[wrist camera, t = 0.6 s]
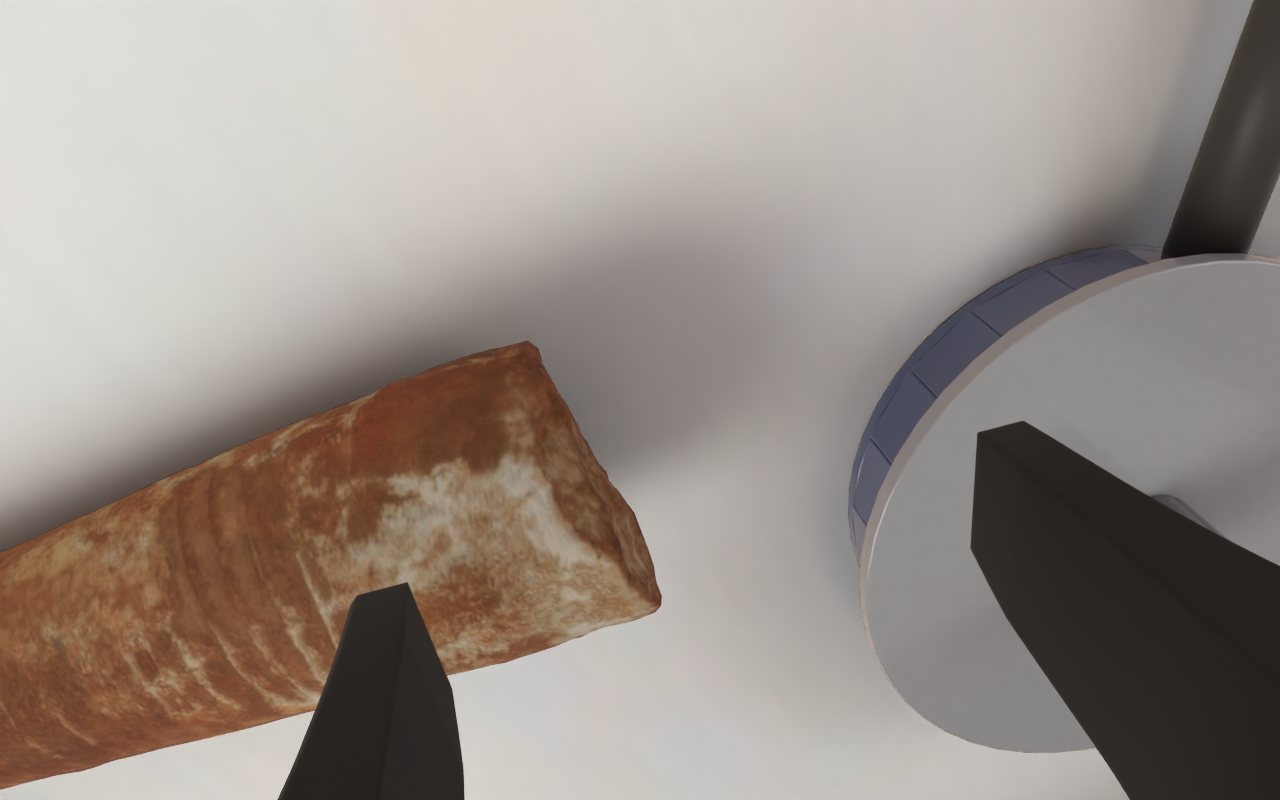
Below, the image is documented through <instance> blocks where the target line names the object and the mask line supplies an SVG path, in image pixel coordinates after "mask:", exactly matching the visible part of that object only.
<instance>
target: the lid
mask: <svg viewBox="0 0 1280 800" xmlns="http://www.w3.org/2000/svg"><path fill="white" fill-rule="evenodd" d="M1019 421H1025V422H1027V423H1029V424H1030V425H1032V426H1034V427H1035V428H1037V429H1039V430H1040V431H1042V432H1044V433H1045V434H1047V435H1049V436H1050V437H1052V438H1054V439H1055V440H1057V441H1059V442H1060V443H1062V444H1064V445H1065V446H1067V447H1068V448H1070V449H1072V450H1073V451H1075V452H1077V453H1078V454H1080V455H1081V456H1083V457H1085V458H1086V459H1088V460H1090V461H1091V462H1093V463H1094V464H1096V465H1098V466H1099V467H1101V468H1103V469H1104V470H1106V471H1108V472H1109V473H1111V474H1113V475H1114V476H1116V477H1118V478H1119V479H1121V480H1123V481H1124V482H1126V483H1128V484H1129V485H1131V486H1133V487H1134V488H1136V489H1138V490H1139V491H1141V492H1143V493H1145V494H1146V495H1148V496H1150V497H1151V498H1153V499H1155V500H1157V501H1158V502H1160V503H1162V504H1164V505H1165V506H1167V507H1169V508H1171V509H1172V510H1174V511H1176V512H1178V513H1179V514H1181V515H1183V516H1185V517H1187V518H1188V519H1190V520H1192V521H1194V522H1196V523H1197V524H1199V525H1201V526H1203V527H1205V528H1207V529H1209V530H1210V531H1212V532H1214V533H1216V534H1218V535H1220V536H1222V537H1224V538H1226V539H1228V540H1229V541H1231V542H1233V543H1235V544H1237V545H1239V546H1241V547H1243V548H1245V549H1247V550H1249V551H1251V552H1253V553H1255V554H1257V555H1259V556H1261V557H1263V558H1265V559H1267V560H1269V561H1271V562H1273V563H1275V564H1277V565H1279V566H1280V259H1277V258H1270V257H1264V256H1257V255H1250V254H1199V255H1192V256H1184V257H1177V258H1170V259H1164V260H1160V261H1157V262H1153V263H1149V264H1145V265H1142V266H1138V267H1134V268H1130V269H1127V270H1124V271H1121V272H1119V273H1116V274H1114V275H1111V276H1108V277H1106V278H1103V279H1101V280H1098V281H1096V282H1093V283H1091V284H1088V285H1086V286H1084V287H1082V288H1080V289H1078V290H1076V291H1074V292H1072V293H1070V294H1068V295H1066V296H1065V297H1063V298H1061V299H1059V300H1057V301H1055V302H1053V303H1051V304H1049V305H1047V306H1045V307H1044V308H1042V309H1041V310H1039V311H1038V312H1036V313H1035V314H1033V315H1032V316H1030V317H1029V318H1027V319H1026V320H1024V321H1023V322H1021V323H1020V324H1018V325H1017V326H1015V327H1014V328H1012V329H1011V330H1009V331H1008V332H1007V333H1006V334H1004V335H1003V336H1002V337H1001V338H999V339H998V340H997V341H996V342H995V343H993V344H992V345H991V346H990V347H989V348H987V349H986V350H985V351H984V352H982V353H981V354H980V355H979V356H978V357H976V358H975V359H974V360H973V361H972V362H971V363H970V364H969V365H968V366H967V367H966V368H965V369H964V370H963V371H962V372H961V373H960V374H959V375H958V376H957V377H956V378H955V379H954V380H953V381H952V382H951V383H950V384H949V385H948V386H947V387H946V388H945V389H944V390H943V391H942V393H941V394H940V395H939V396H938V398H937V399H936V400H935V401H934V403H933V404H932V405H931V406H930V408H929V409H928V410H927V411H926V413H925V414H924V415H923V416H922V418H921V419H920V420H919V421H918V423H917V424H916V426H915V427H914V429H913V430H912V432H911V433H910V435H909V437H908V438H907V440H906V441H905V443H904V444H903V446H902V447H901V449H900V451H899V452H898V454H897V455H896V457H895V459H894V461H893V463H892V465H891V467H890V469H889V471H888V473H887V475H886V477H885V479H884V481H883V483H882V486H881V488H880V490H879V492H878V495H877V498H876V500H875V503H874V506H873V509H872V512H871V515H870V518H869V521H868V524H867V528H866V533H865V538H864V543H863V548H862V554H861V560H860V582H859V594H860V602H861V611H862V620H863V623H864V626H865V630H866V633H867V636H868V640H869V643H870V646H871V648H872V650H873V652H874V654H875V656H876V658H877V660H878V662H879V664H880V666H881V668H882V670H883V672H884V673H885V675H886V677H887V679H888V680H889V682H890V683H891V684H892V685H893V687H894V688H895V689H896V691H897V692H898V693H899V694H900V696H901V697H902V698H903V700H904V701H905V702H906V703H907V704H909V705H910V706H911V707H912V708H913V709H914V710H915V711H916V712H918V713H919V714H920V715H921V716H922V717H923V718H925V719H926V720H928V721H929V722H931V723H933V724H934V725H936V726H937V727H939V728H941V729H942V730H944V731H945V732H947V733H950V734H952V735H954V736H957V737H959V738H962V739H964V740H966V741H969V742H971V743H975V744H979V745H983V746H987V747H991V748H995V749H999V750H1008V751H1016V752H1024V753H1058V752H1068V751H1077V750H1086V749H1091V748H1096V747H1095V745H1094V744H1093V742H1092V741H1091V740H1090V738H1089V737H1088V735H1087V734H1086V732H1085V731H1084V730H1083V728H1082V727H1081V725H1080V724H1079V722H1078V721H1077V720H1076V718H1075V717H1074V715H1073V714H1072V712H1071V711H1070V710H1069V708H1068V707H1067V705H1066V704H1065V702H1064V701H1063V700H1062V698H1061V697H1060V695H1059V694H1058V692H1057V691H1056V690H1055V688H1054V687H1053V685H1052V684H1051V682H1050V681H1049V679H1048V678H1047V677H1046V675H1045V674H1044V672H1043V671H1042V669H1041V668H1040V667H1039V665H1038V664H1037V662H1036V661H1035V659H1034V658H1033V656H1032V655H1031V653H1030V652H1029V651H1028V649H1027V648H1026V646H1025V645H1024V643H1023V642H1022V640H1021V639H1020V637H1019V636H1018V635H1017V633H1016V632H1015V630H1014V629H1013V627H1012V626H1011V624H1010V623H1009V621H1008V620H1007V618H1006V616H1005V615H1004V613H1003V611H1002V609H1001V607H1000V605H999V603H998V602H997V600H996V598H995V596H994V594H993V592H992V590H991V588H990V587H989V585H988V583H987V581H986V579H985V577H984V575H983V573H982V571H981V569H980V567H979V565H978V563H977V561H976V559H975V557H974V555H973V553H972V551H971V549H970V545H971V528H972V512H973V495H974V479H975V462H976V446H977V432H981V431H985V430H989V429H993V428H997V427H1000V426H1004V425H1008V424H1012V423H1016V422H1019Z"/></svg>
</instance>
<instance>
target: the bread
mask: <svg viewBox="0 0 1280 800" xmlns="http://www.w3.org/2000/svg"><path fill="white" fill-rule="evenodd" d="M406 582H408V584H409V587H410V589H411V592H412V594H413V596H414V599H415V601H416V604H417V606H418V608H419V611H420V613H421V616H422V618H423V620H424V623H425V625H426V628H427V630H428V632H429V635H430V637H431V640H432V642H433V644H434V647H435V649H436V652H437V654H438V656H439V659H440V661H441V664H442V666H443V668H444V671H445V673H446V676H448V675H452V674H457V673H461V672H465V671H470V670H474V669H478V668H482V667H486V666H490V665H495V664H500V663H506V662H509V661H511V660H514V659H517V658H520V657H523V656H526V655H530V654H533V653H536V652H539V651H542V650H545V649H548V648H551V647H555V646H557V645H559V644H562V643H564V642H567V641H569V640H571V639H574V638H578V637H582V636H584V635H586V634H588V633H590V632H592V631H595V630H598V629H600V628H603V627H607V626H612V625H617V624H622V623H626V622H631V621H634V620H637V619H639V618H641V617H644V616H646V615H649V614H651V613H654V612H656V611H657V609H658V608H659V607H660V606H661V598H662V596H661V593H660V591H659V588H658V585H657V582H656V578H655V571H654V565H653V562H652V559H651V556H650V553H649V550H648V548H647V545H646V543H645V540H644V537H643V535H642V532H641V529H640V527H639V524H638V522H637V519H636V516H635V514H634V512H633V511H632V509H631V508H630V507H629V505H628V504H627V503H626V501H625V500H624V498H623V497H622V496H621V494H620V493H619V491H618V490H617V489H616V488H615V487H614V486H613V485H612V484H611V482H610V481H609V480H608V476H607V473H606V471H605V470H604V469H603V468H602V467H601V466H600V465H599V463H598V462H597V460H596V458H595V457H594V455H593V453H592V451H591V449H590V447H589V445H588V443H587V441H586V440H585V439H584V437H583V436H582V435H581V433H580V431H579V428H578V426H577V423H576V421H575V419H574V417H573V415H572V413H571V412H570V410H569V407H568V406H567V404H566V403H565V401H564V400H563V398H562V397H561V395H560V394H559V392H558V391H557V389H556V387H555V385H554V383H553V381H552V380H551V378H550V376H549V375H548V373H547V371H546V370H545V368H544V366H543V365H542V363H541V357H540V353H539V350H538V348H537V347H535V346H534V345H533V344H531V343H530V342H529V341H525V342H521V343H518V344H514V345H509V346H505V347H500V348H496V349H491V350H487V351H483V352H480V353H476V354H473V355H470V356H467V357H464V358H460V359H457V360H454V361H451V362H449V363H446V364H443V365H440V366H437V367H434V368H431V369H429V370H427V371H425V372H423V373H421V374H419V375H416V376H413V377H410V378H407V379H404V380H401V381H397V382H394V383H391V384H388V385H385V386H383V387H380V388H379V389H378V390H377V391H375V392H374V393H373V394H371V395H368V396H365V397H362V398H359V399H357V400H354V401H352V402H349V403H347V404H344V405H342V406H339V407H337V408H334V409H332V410H329V411H326V412H323V413H321V414H318V415H315V416H312V417H310V418H307V419H304V420H301V421H299V422H296V423H293V424H291V425H288V426H286V427H283V428H281V429H279V430H276V431H274V432H272V433H269V434H267V435H265V436H262V437H260V438H257V439H255V440H253V441H250V442H248V443H245V444H243V445H241V446H238V447H236V448H234V449H231V450H229V451H226V452H224V453H222V454H219V455H217V456H215V457H213V458H211V459H209V460H207V461H205V462H203V463H201V464H199V465H196V466H193V467H191V468H188V469H185V470H183V471H180V472H178V473H175V474H173V475H171V476H169V477H166V478H164V479H162V480H160V481H158V482H156V483H153V484H151V485H149V486H147V487H145V488H143V489H141V490H139V491H136V492H134V493H132V494H130V495H128V496H126V497H124V498H121V499H119V500H117V501H114V502H112V503H110V504H108V505H106V506H104V507H102V508H99V509H97V510H95V511H93V512H91V513H89V514H87V515H85V516H82V517H80V518H78V519H75V520H73V521H71V522H68V523H66V524H63V525H61V526H59V527H57V528H55V529H53V530H51V531H48V532H46V533H44V534H42V535H40V536H38V537H36V538H33V539H31V540H29V541H27V542H24V543H22V544H20V545H18V546H15V547H13V548H11V549H8V550H6V551H4V552H1V553H0V789H4V788H9V787H12V786H16V785H19V784H22V783H26V782H30V781H34V780H39V779H43V778H47V777H51V776H56V775H61V774H66V773H72V772H78V771H83V770H87V769H90V768H94V767H97V766H99V765H102V764H105V763H108V762H110V761H114V760H118V759H122V758H127V757H131V756H135V755H139V754H143V753H147V752H150V751H154V750H158V749H162V748H166V747H170V746H175V745H179V744H184V743H188V742H193V741H197V740H202V739H206V738H210V737H214V736H218V735H223V734H227V733H231V732H235V731H239V730H243V729H247V728H251V727H255V726H259V725H262V724H266V723H269V722H273V721H276V720H279V719H283V718H287V717H291V716H295V715H298V714H302V713H306V712H310V711H314V710H316V707H317V704H318V702H319V699H320V697H321V694H322V691H323V688H324V685H325V683H326V680H327V677H328V674H329V671H330V669H331V666H332V663H333V660H334V657H335V654H336V651H337V648H338V645H339V641H340V638H341V635H342V632H343V629H344V625H345V622H346V619H347V615H348V612H349V608H350V605H351V603H352V602H353V600H354V599H355V598H356V596H357V595H360V594H364V593H368V592H371V591H375V590H379V589H383V588H387V587H390V586H394V585H398V584H402V583H406Z"/></svg>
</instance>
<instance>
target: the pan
mask: <svg viewBox="0 0 1280 800" xmlns="http://www.w3.org/2000/svg"><path fill="white" fill-rule="evenodd" d="M1162 249H1163V248H1160V247H1153V246H1112V247H1105V248H1097V249H1090V250H1084V251H1080V252H1077V253H1073V254H1069V255H1065V256H1062V257H1058V258H1054V259H1052V260H1049V261H1047V262H1044V263H1041V264H1039V265H1036V266H1034V267H1031V268H1029V269H1026V270H1024V271H1022V272H1020V273H1018V274H1016V275H1014V276H1012V277H1010V278H1008V279H1006V280H1005V281H1003V282H1001V283H999V284H997V285H995V286H993V287H992V288H990V289H989V290H987V291H986V292H984V293H983V294H981V295H980V296H978V297H977V298H975V299H974V300H972V301H971V302H969V303H968V304H966V305H965V306H963V307H962V308H961V309H960V310H959V311H957V312H956V313H955V314H954V315H953V316H951V317H950V318H949V319H948V320H947V321H945V322H944V323H943V324H942V325H941V326H940V327H938V328H937V329H936V330H935V331H934V332H933V333H932V334H931V335H930V336H929V337H928V338H927V339H926V340H925V342H924V343H923V344H922V345H921V346H920V347H919V348H918V349H917V350H916V351H915V352H914V353H913V354H912V355H911V357H910V358H909V359H908V360H907V362H906V363H905V364H904V366H903V367H902V368H901V369H900V371H899V372H898V373H897V375H896V376H895V377H894V378H893V380H892V381H891V383H890V385H889V386H888V388H887V390H886V391H885V393H884V394H883V396H882V398H881V399H880V401H879V402H878V404H877V406H876V408H875V410H874V412H873V414H872V416H871V418H870V420H869V423H868V425H867V427H866V429H865V431H864V433H863V436H862V439H861V442H860V445H859V448H858V451H857V455H856V458H855V461H854V465H853V471H852V476H851V482H850V487H849V508H848V518H849V526H850V535H851V541H852V544H853V548H854V551H855V555H856V558H857V562H858V564H859V567H860V560H861V554H862V548H863V543H864V538H865V533H866V528H867V524H868V521H869V518H870V515H871V512H872V509H873V506H874V503H875V500H876V498H877V495H878V492H879V490H880V488H881V486H882V483H883V481H884V479H885V477H886V475H887V473H888V471H889V469H890V467H891V465H892V463H893V461H894V459H895V457H896V455H897V454H898V452H899V451H900V449H901V447H902V446H903V444H904V443H905V441H906V440H907V438H908V437H909V435H910V433H911V432H912V430H913V429H914V427H915V426H916V424H917V423H918V421H919V420H920V419H921V418H922V416H923V415H924V414H925V413H926V411H927V410H928V409H929V408H930V406H931V405H932V404H933V403H934V401H935V400H936V399H937V398H938V396H939V395H940V394H941V393H942V391H943V390H944V389H945V388H946V387H947V386H948V385H949V384H950V383H951V382H952V381H953V380H954V379H955V378H956V377H957V376H958V375H959V374H960V373H961V372H962V371H963V370H964V369H965V368H966V367H967V366H968V365H969V364H970V363H971V362H972V361H973V360H974V359H975V358H976V357H978V356H979V355H980V354H981V353H982V352H984V351H985V350H986V349H987V348H989V347H990V346H991V345H992V344H993V343H995V342H996V341H997V340H998V339H999V338H1001V337H1002V336H1003V335H1004V334H1006V333H1007V332H1008V331H1009V330H1011V329H1012V328H1014V327H1015V326H1017V325H1018V324H1020V323H1021V322H1023V321H1024V320H1026V319H1027V318H1029V317H1030V316H1032V315H1033V314H1035V313H1036V312H1038V311H1039V310H1041V309H1042V308H1044V307H1045V306H1047V305H1049V304H1051V303H1053V302H1055V301H1057V300H1059V299H1061V298H1063V297H1065V296H1066V295H1068V294H1070V293H1072V292H1074V291H1076V290H1078V289H1080V288H1082V287H1084V286H1086V285H1088V284H1091V283H1093V282H1096V281H1098V280H1101V279H1103V278H1106V277H1108V276H1111V275H1114V274H1116V273H1119V272H1121V271H1124V270H1127V269H1130V268H1134V267H1138V266H1142V265H1145V264H1149V263H1153V262H1157V261H1160V260H1161V254H1162Z"/></svg>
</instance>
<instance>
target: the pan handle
mask: <svg viewBox="0 0 1280 800" xmlns="http://www.w3.org/2000/svg"><path fill="white" fill-rule="evenodd" d="M1279 174H1280V0H1254V1H1253V4H1252V7H1251V9H1250V12H1249V15H1248V18H1247V20H1246V23H1245V26H1244V28H1243V31H1242V34H1241V37H1240V39H1239V42H1238V45H1237V48H1236V50H1235V53H1234V56H1233V58H1232V61H1231V64H1230V67H1229V69H1228V72H1227V75H1226V78H1225V80H1224V83H1223V86H1222V88H1221V91H1220V94H1219V97H1218V99H1217V102H1216V105H1215V108H1214V110H1213V113H1212V116H1211V118H1210V121H1209V124H1208V127H1207V129H1206V132H1205V135H1204V138H1203V140H1202V143H1201V146H1200V149H1199V151H1198V154H1197V157H1196V159H1195V162H1194V165H1193V168H1192V170H1191V173H1190V176H1189V179H1188V181H1187V184H1186V187H1185V189H1184V192H1183V195H1182V198H1181V200H1180V203H1179V206H1178V209H1177V211H1176V214H1175V217H1174V219H1173V222H1172V225H1171V228H1170V230H1169V233H1168V236H1167V239H1166V241H1165V244H1164V247H1163V249H1162V254H1161V260H1164V259H1170V258H1177V257H1184V256H1192V255H1199V254H1248V251H1249V249H1250V246H1251V244H1252V241H1253V239H1254V236H1255V234H1256V231H1257V229H1258V226H1259V224H1260V221H1261V219H1262V216H1263V214H1264V212H1265V209H1266V207H1267V204H1268V202H1269V199H1270V197H1271V194H1272V192H1273V189H1274V187H1275V184H1276V182H1277V179H1278V177H1279Z"/></svg>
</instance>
